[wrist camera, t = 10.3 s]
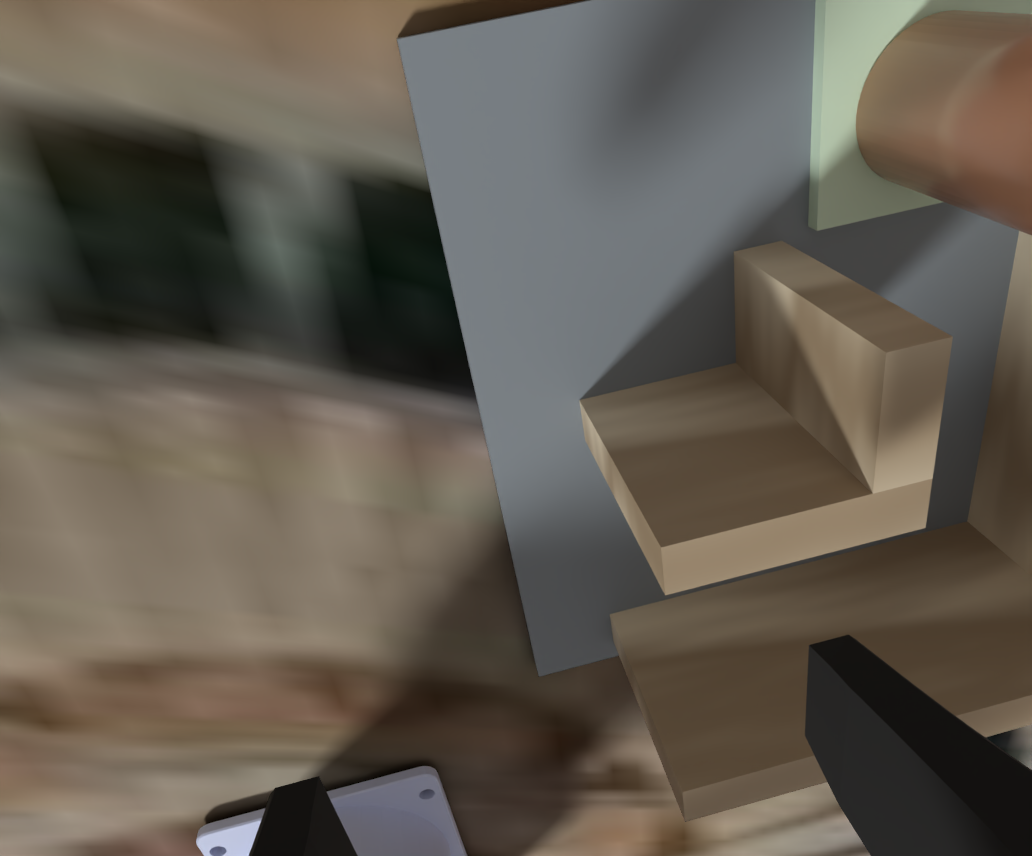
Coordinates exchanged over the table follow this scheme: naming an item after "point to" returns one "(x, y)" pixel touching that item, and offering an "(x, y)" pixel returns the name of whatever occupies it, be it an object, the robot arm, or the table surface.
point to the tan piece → (816, 525)
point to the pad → (836, 92)
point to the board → (650, 257)
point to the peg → (955, 113)
